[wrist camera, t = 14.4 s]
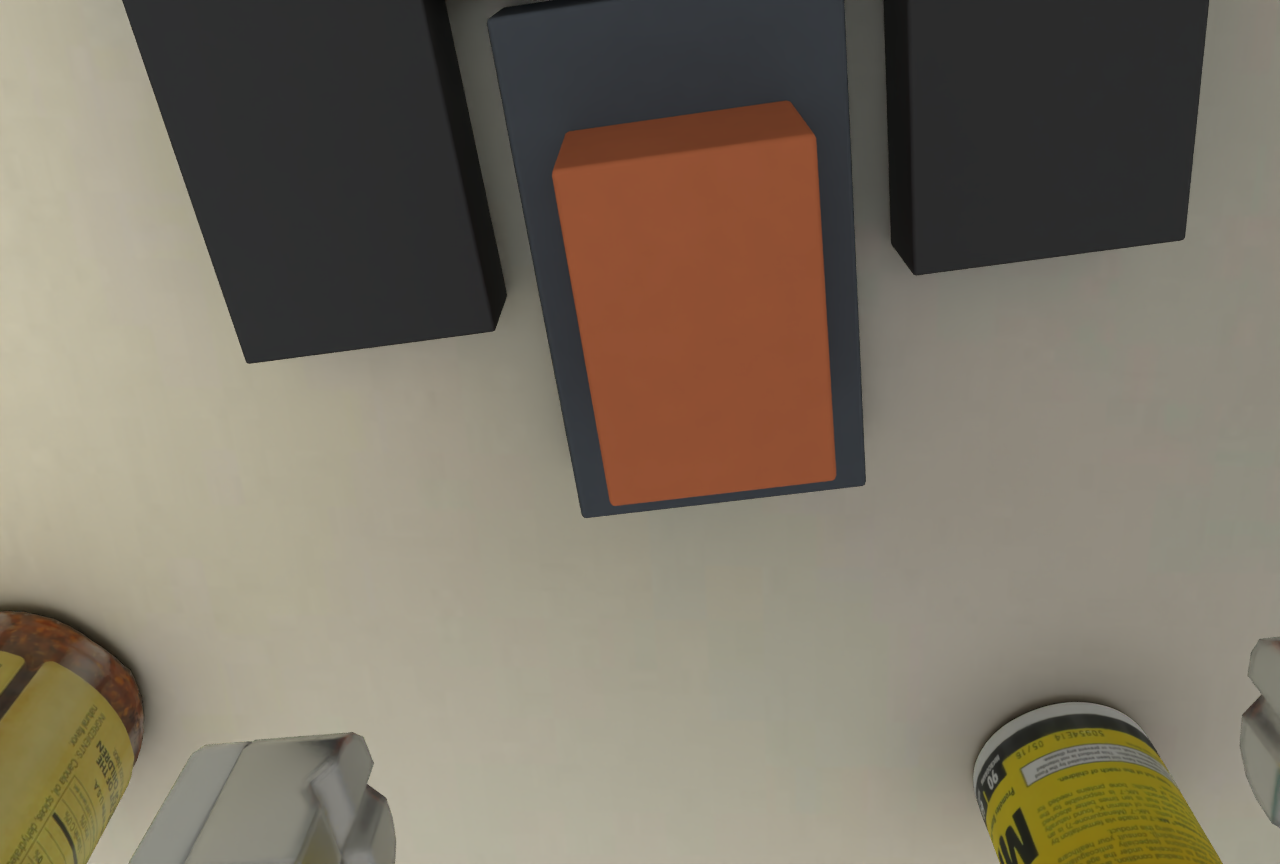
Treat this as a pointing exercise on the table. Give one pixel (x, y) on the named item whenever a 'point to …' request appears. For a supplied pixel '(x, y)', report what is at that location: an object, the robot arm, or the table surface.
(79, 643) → the sauce bottle
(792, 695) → the table surface
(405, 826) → the table surface
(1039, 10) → the base pad
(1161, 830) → the supplement bottle
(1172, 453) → the table surface
